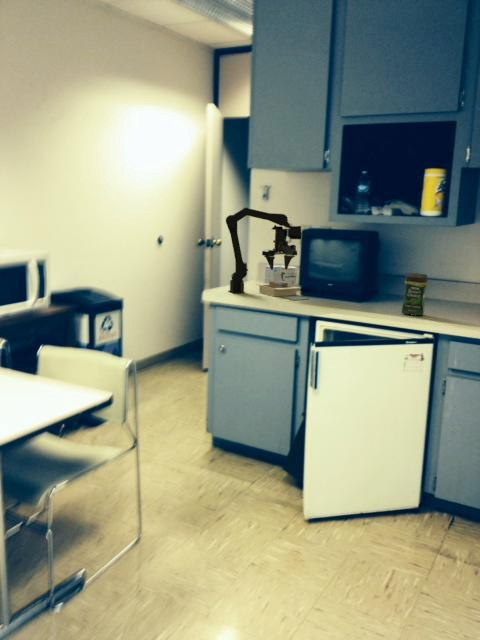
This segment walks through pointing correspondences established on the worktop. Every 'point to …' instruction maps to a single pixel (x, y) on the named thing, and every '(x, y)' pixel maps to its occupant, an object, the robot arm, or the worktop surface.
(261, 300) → the worktop surface
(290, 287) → the beige open box
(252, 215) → the robot arm
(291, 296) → the mat
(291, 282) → the ink box
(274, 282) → the gray and brown box
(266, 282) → the light bulb box
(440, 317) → the worktop surface
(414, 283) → the coffee jar
